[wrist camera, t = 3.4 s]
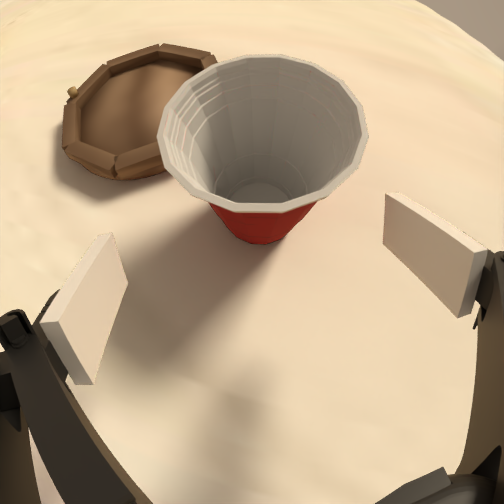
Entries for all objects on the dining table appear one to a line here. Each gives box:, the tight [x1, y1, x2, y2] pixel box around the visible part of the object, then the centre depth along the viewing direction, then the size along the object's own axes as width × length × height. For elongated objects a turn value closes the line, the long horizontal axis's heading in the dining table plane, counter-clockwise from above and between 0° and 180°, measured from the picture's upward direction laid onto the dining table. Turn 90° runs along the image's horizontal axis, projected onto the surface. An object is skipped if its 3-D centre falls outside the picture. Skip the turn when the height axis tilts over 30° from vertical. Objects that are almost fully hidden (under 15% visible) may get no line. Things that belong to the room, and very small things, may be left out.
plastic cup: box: [157, 55, 369, 244], centre depth 20 cm, size 11×11×12 cm
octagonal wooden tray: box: [62, 43, 218, 180], centre depth 28 cm, size 17×17×4 cm
